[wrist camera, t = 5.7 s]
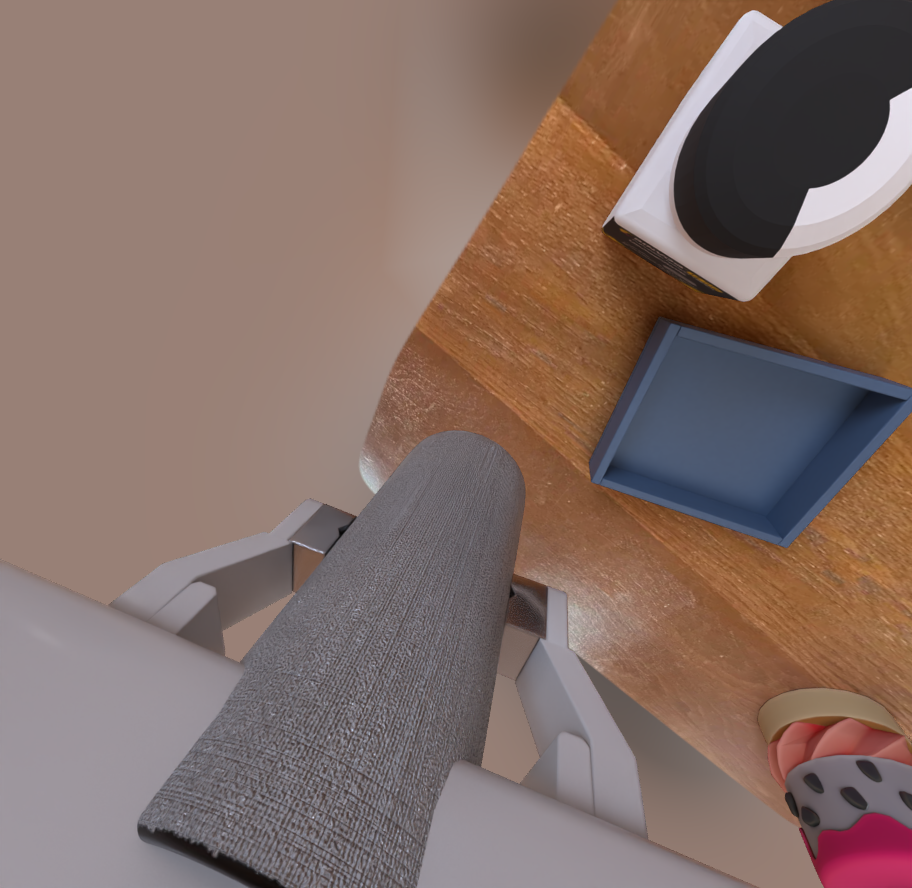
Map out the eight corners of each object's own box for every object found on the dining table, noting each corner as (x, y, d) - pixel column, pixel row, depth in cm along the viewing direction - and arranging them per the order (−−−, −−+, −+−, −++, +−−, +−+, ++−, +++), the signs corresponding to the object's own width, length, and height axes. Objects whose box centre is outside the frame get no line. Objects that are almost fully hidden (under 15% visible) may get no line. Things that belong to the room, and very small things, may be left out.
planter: (545, 453, 12) (485, 1010, 3) (505, 551, 14) (403, 1039, 5) (416, 411, 13) (51, 779, 4) (396, 511, 15) (141, 893, 6)
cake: (726, 709, 36) (818, 965, 23) (842, 668, 31) (1048, 969, 18) (806, 769, 36) (940, 1052, 23) (933, 739, 31) (1197, 1080, 18)
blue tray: (588, 462, 29) (590, 482, 26) (658, 316, 23) (670, 322, 21) (765, 521, 27) (787, 548, 24) (885, 378, 22) (929, 394, 19)
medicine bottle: (598, 231, 22) (627, 202, 12) (690, 87, 19) (846, -134, 8) (698, 294, 22) (816, 320, 12) (809, 162, 19) (1114, 35, 8)
